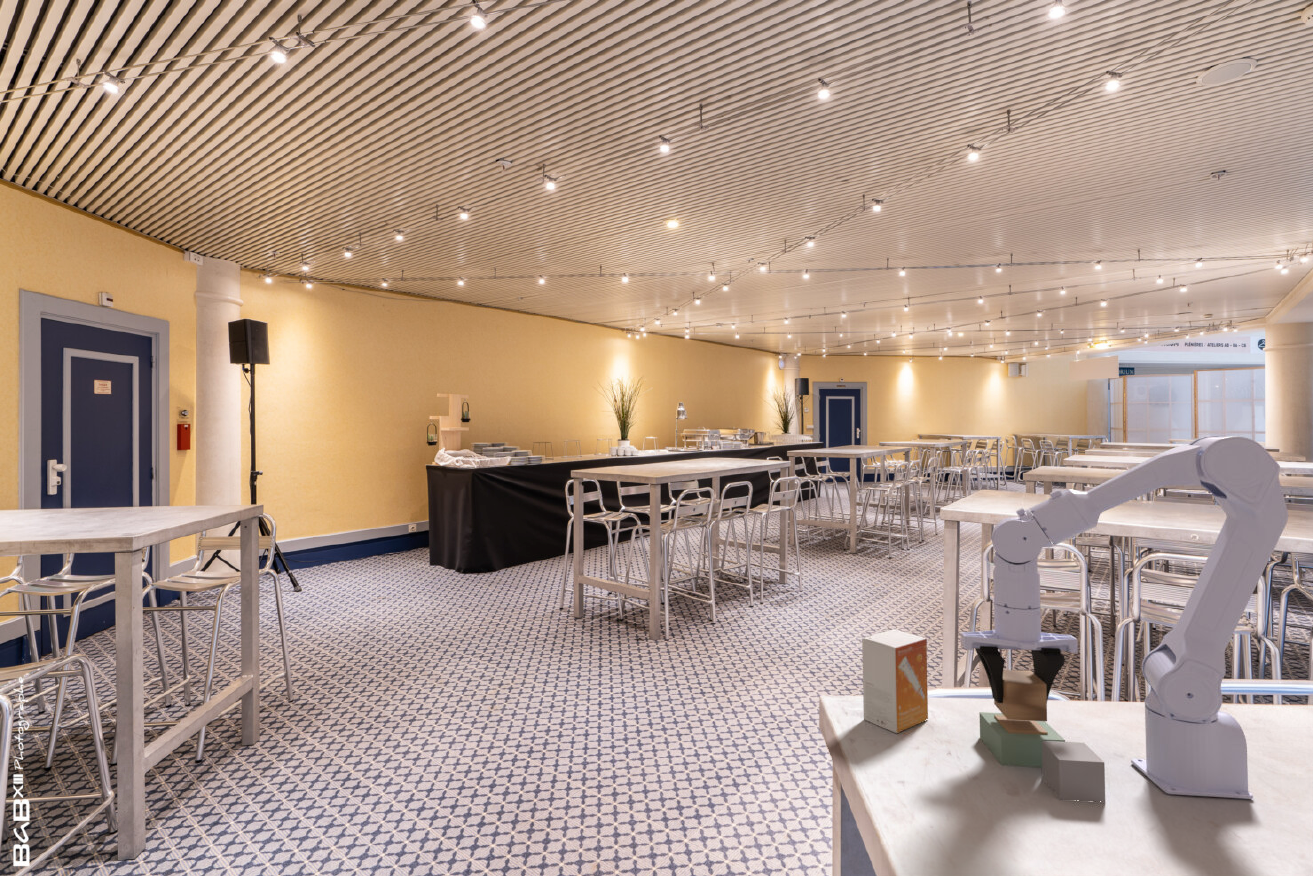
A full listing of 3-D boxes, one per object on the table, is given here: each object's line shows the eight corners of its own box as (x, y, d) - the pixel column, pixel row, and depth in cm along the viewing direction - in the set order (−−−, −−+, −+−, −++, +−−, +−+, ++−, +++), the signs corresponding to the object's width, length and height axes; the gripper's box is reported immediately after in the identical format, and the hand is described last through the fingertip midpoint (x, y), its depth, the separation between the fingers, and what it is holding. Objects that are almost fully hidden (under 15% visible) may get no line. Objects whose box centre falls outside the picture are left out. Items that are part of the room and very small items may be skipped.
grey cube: (1084, 781, 82) (1083, 742, 82) (1105, 804, 77) (1104, 762, 77) (1042, 779, 82) (1041, 740, 82) (1060, 801, 77) (1059, 759, 78)
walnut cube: (1031, 705, 91) (1031, 670, 91) (1047, 721, 86) (1046, 684, 86) (994, 704, 92) (993, 669, 92) (1007, 719, 87) (1006, 683, 87)
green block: (1038, 741, 93) (1037, 712, 93) (1065, 770, 85) (1065, 738, 85) (980, 739, 94) (979, 710, 94) (1001, 767, 86) (1001, 735, 86)
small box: (897, 735, 95) (895, 647, 95) (862, 720, 101) (860, 637, 101) (929, 720, 100) (927, 637, 100) (894, 707, 105) (892, 628, 105)
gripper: (970, 610, 87) (973, 710, 87) (1087, 613, 84) (1090, 715, 84) (955, 597, 94) (957, 690, 94) (1063, 599, 91) (1065, 694, 91)
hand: (1019, 701), depth 89 cm, fingers closed on walnut cube, 5 cm apart
